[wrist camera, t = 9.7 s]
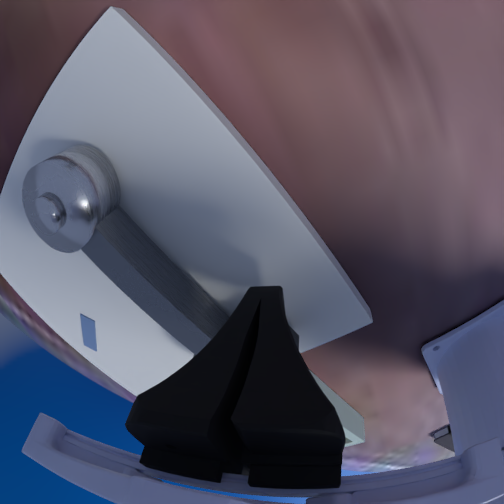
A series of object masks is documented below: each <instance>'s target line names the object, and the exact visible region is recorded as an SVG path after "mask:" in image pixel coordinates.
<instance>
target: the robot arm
mask: <svg viewBox="0 0 504 504" xmlns="http://www.w3.org/2000/svg"><path fill="white" fill-rule="evenodd" d="M421 351H422V354H423V357H424V359H425V361H426V363H427V365H428V367H429V369H430V372H431V374H432V376H433V378H434V381H435V383H436V385H437V388H438V390H439V392H440V394H443V397H444V401H445V405H446V410H447V414H448V419H449V424H450V428H451V434H452V439H453V445H454V450H455V457H451V458H448V459H444V460H440V461H437V462H433V463H428V464H424V465H420V466H415V467H410V468H405V469H399V470H393V471H387V472H380V473H373V474H364V475H355V476H342V477H341V465H342V452H343V449H344V446H345V443H346V438H345V432H344V429H343V426H342V423H341V421H340V419H339V416H338V414H337V412H336V409H335V407H334V406H333V404H332V403H331V402H330V401H329V399H328V398H327V397H326V395H325V394H324V393H323V391H322V390H321V388H320V387H319V385H318V384H317V382H316V381H315V379H314V377H313V376H312V374H311V372H310V371H309V369H308V367H307V366H306V364H305V362H304V360H303V358H302V356H301V354H300V352H299V350H298V348H297V345H296V343H295V341H294V338H293V336H292V333H291V330H290V327H289V325H288V321H287V318H286V313H285V304H284V295H283V288H282V287H281V286H254V287H250V288H249V289H248V290H247V292H246V293H245V295H244V297H243V298H242V300H241V301H240V303H239V304H238V306H237V307H236V309H235V310H234V312H233V313H232V314H231V316H230V317H229V318H228V320H227V321H226V323H225V324H224V325H223V326H222V327H221V329H220V330H219V331H218V332H217V334H216V335H215V336H214V337H213V338H212V339H211V340H210V342H209V343H208V344H207V345H206V346H205V347H204V348H203V349H202V350H201V351H200V352H199V353H198V354H197V355H195V356H194V357H193V358H192V359H191V360H190V361H189V362H188V363H186V364H185V365H184V366H183V367H181V368H180V369H179V370H178V371H176V372H175V373H173V374H172V375H171V376H169V377H168V378H166V379H165V380H163V381H162V382H160V383H159V384H157V385H155V386H153V387H152V388H150V389H148V390H146V391H145V392H143V393H141V394H139V395H138V396H137V398H136V400H135V402H134V403H133V406H132V408H131V411H130V413H129V416H128V418H127V421H126V423H125V426H126V428H127V430H128V431H129V432H130V433H131V434H132V435H133V436H134V437H135V438H136V439H137V440H139V441H140V442H141V443H142V444H143V445H144V446H145V447H144V449H143V452H142V455H137V454H134V453H130V452H127V451H124V450H121V449H117V448H114V447H112V446H109V445H106V444H103V443H100V442H98V441H95V440H92V439H90V438H87V437H85V436H82V435H80V434H77V433H75V432H72V431H70V430H68V429H67V428H66V427H65V426H64V425H63V424H61V423H60V422H59V421H57V420H55V419H54V418H51V417H49V416H47V415H45V414H43V413H40V414H39V416H38V418H37V420H36V422H35V424H34V426H33V428H32V430H31V432H30V434H29V436H28V438H27V440H26V442H25V445H24V446H23V449H22V452H23V453H24V454H26V455H27V456H29V457H30V458H32V459H33V460H35V461H36V462H38V463H39V464H41V465H43V466H44V467H46V468H47V469H49V470H51V471H52V472H54V473H56V474H58V475H59V476H61V477H63V478H65V479H66V480H68V481H70V482H72V483H74V484H76V485H78V486H80V487H82V488H84V489H86V490H88V491H90V492H92V493H94V494H96V495H98V496H101V497H103V498H105V499H107V500H110V501H112V502H114V503H117V504H292V503H278V502H268V501H259V500H250V499H244V498H237V497H231V496H226V495H220V494H214V493H209V492H203V491H198V490H193V489H188V488H184V487H180V486H175V485H171V484H167V483H164V482H162V480H160V479H164V480H168V481H172V482H176V483H180V484H185V485H190V486H194V487H200V488H205V489H211V490H217V491H223V492H231V493H239V494H248V495H260V496H274V497H311V498H308V499H306V504H504V300H503V301H501V302H499V303H498V304H496V305H495V306H493V307H492V308H490V309H488V310H487V311H485V312H484V313H482V314H480V315H479V316H477V317H475V318H473V319H472V320H470V321H468V322H466V323H465V324H463V325H461V326H459V327H458V328H456V329H454V330H452V331H450V332H448V333H446V334H445V335H443V336H441V337H439V338H437V339H435V340H433V341H431V342H429V343H427V344H425V345H424V346H423V347H422V349H421ZM152 476H153V477H152ZM154 477H156V478H154ZM157 478H160V479H157Z"/></svg>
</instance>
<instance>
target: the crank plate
mask: <svg viewBox="0 0 504 504" xmlns="http://www.w3.org/2000/svg"><path fill="white" fill-rule="evenodd" d="M76 145H87V146H90V147H93V148H95V149H97V150H98V151H100V152H101V153H102V154H103V155H104V156H105V157H106V158H107V159H108V160H109V161H110V163H111V164H112V166H113V168H114V170H115V172H116V174H117V177H118V180H119V184H120V190H121V198H120V205H119V206H120V207H121V208H122V209H123V210H124V211H125V212H126V213H127V214H128V215H129V217H130V218H131V219H132V220H133V221H134V222H135V223H136V224H137V225H138V226H139V227H140V228H141V229H142V230H143V232H144V233H145V234H146V235H147V236H148V237H149V238H150V239H151V240H152V241H153V242H154V243H155V244H156V245H157V246H158V247H159V248H160V249H161V250H162V251H163V252H164V253H165V254H166V255H167V256H168V258H169V259H170V260H171V261H172V262H173V263H174V264H175V265H176V266H177V267H178V268H179V269H180V270H181V271H182V272H183V273H184V274H185V275H186V276H187V277H188V278H189V279H190V280H191V281H192V282H193V283H195V284H196V285H197V286H198V287H199V288H200V289H201V290H202V291H203V292H204V293H205V294H206V295H207V296H208V297H209V298H210V299H211V300H212V301H213V302H214V303H215V304H216V305H217V306H218V307H219V308H220V309H222V310H223V311H224V312H225V313H226V314H227V315H228V316H229V317H230V316H231V314H232V313H233V312H234V310H235V309H236V307H237V306H238V304H239V303H240V301H241V300H242V298H243V297H244V295H245V293H246V292H247V290H248V289H249V288H250V287H254V286H281V287H282V288H283V295H284V304H285V313H286V318H287V321H288V325H289V326H290V327H291V328H292V329H293V330H294V331H295V332H296V333H297V334H298V335H299V352H300V353H302V352H304V351H307V350H310V349H312V348H315V347H317V346H320V345H322V344H325V343H327V342H329V341H332V340H334V339H337V338H339V337H341V336H344V335H346V334H348V333H351V332H353V331H355V330H357V329H360V328H362V327H364V326H366V325H368V324H371V323H373V319H372V315H371V310H370V308H369V306H368V305H367V303H366V302H365V300H364V299H363V297H362V296H361V294H360V293H359V291H358V290H357V288H356V287H355V285H354V284H353V283H352V281H351V280H350V278H349V277H348V275H347V274H346V272H345V271H344V269H343V268H342V267H341V265H340V264H339V262H338V261H337V259H336V258H335V257H334V255H333V254H332V252H331V251H330V250H329V248H328V247H327V245H326V244H325V243H324V241H323V240H322V238H321V237H320V236H319V234H318V233H317V232H316V230H315V229H314V227H313V226H312V225H311V223H310V222H309V221H308V219H307V218H306V217H305V215H304V214H303V213H302V211H301V210H300V209H299V207H298V206H297V205H296V203H295V202H294V201H293V199H292V198H291V197H290V195H289V194H288V193H287V192H286V190H285V189H284V188H283V186H282V185H281V184H280V183H279V181H278V180H277V179H276V177H275V176H274V175H273V174H272V172H271V171H270V170H269V169H268V167H267V166H266V165H265V164H264V162H263V161H262V160H261V159H260V157H259V156H258V155H257V154H256V153H255V151H254V150H253V149H252V148H251V146H250V145H249V144H248V143H247V142H246V140H245V139H244V138H243V137H242V136H241V134H240V133H239V132H238V131H237V130H236V128H235V127H234V126H233V125H232V124H231V123H230V121H229V120H228V119H227V118H226V117H225V116H224V114H223V113H222V112H221V111H220V110H219V109H218V108H217V106H216V105H215V104H214V103H213V102H212V101H211V100H210V98H209V97H208V96H207V95H206V94H205V93H204V92H203V91H202V90H201V88H200V87H199V86H198V85H197V84H196V83H195V82H194V81H193V80H192V79H191V77H190V76H189V75H188V74H187V73H186V72H185V71H184V70H183V69H182V68H181V67H180V66H179V65H178V63H177V62H176V61H175V60H174V59H173V58H172V57H171V56H170V55H169V54H168V53H167V52H166V51H165V50H164V49H163V48H162V47H161V46H160V45H159V44H158V43H157V42H156V41H155V40H154V39H153V38H152V37H151V36H150V35H149V34H148V33H147V32H146V31H145V30H144V29H143V28H142V27H141V26H140V25H139V24H138V23H137V22H136V21H135V20H134V19H133V18H132V17H131V16H130V15H129V14H128V13H127V12H126V11H125V10H124V9H121V8H117V7H112V6H111V7H110V8H109V9H108V10H107V11H106V12H105V13H104V14H103V16H102V17H101V18H100V19H99V20H98V21H97V23H96V24H95V25H94V26H93V27H92V29H91V30H90V31H89V32H88V34H87V35H86V36H85V37H84V39H83V40H82V41H81V43H80V44H79V45H78V47H77V48H76V49H75V51H74V52H73V54H72V55H71V56H70V58H69V59H68V61H67V62H66V64H65V65H64V67H63V68H62V70H61V71H60V73H59V74H58V76H57V77H56V79H55V80H54V82H53V84H52V85H51V87H50V89H49V90H48V92H47V94H46V95H45V97H44V99H43V101H42V102H41V104H40V106H39V108H38V110H37V111H36V113H35V115H34V117H33V119H32V121H31V123H30V125H29V127H28V129H27V131H26V133H25V135H24V137H23V140H22V142H21V144H20V146H19V148H18V151H17V153H16V155H15V158H14V160H13V163H12V165H11V168H10V170H9V173H8V175H7V178H6V181H5V184H4V186H3V189H2V192H1V195H0V273H1V274H2V276H3V277H4V278H5V279H6V280H7V282H8V283H9V284H10V285H11V286H12V287H13V288H14V290H15V291H16V292H17V293H18V294H19V295H20V296H21V297H22V298H23V300H24V301H25V302H26V303H27V304H28V305H29V306H30V307H31V308H32V309H33V310H34V311H35V312H36V313H37V314H38V315H39V316H40V317H41V318H42V319H43V320H44V321H45V322H46V323H47V324H48V325H49V326H50V327H51V328H52V329H53V330H54V331H55V332H56V333H58V334H59V335H60V336H61V337H62V338H63V339H64V340H65V341H66V342H67V343H69V344H70V345H71V346H72V347H73V348H74V349H75V350H77V351H78V352H79V353H80V354H81V355H83V356H84V357H85V358H86V359H87V360H89V361H90V362H91V363H92V364H94V365H95V366H96V367H97V368H99V369H100V370H101V371H102V372H104V373H105V374H106V375H108V376H109V377H110V378H112V379H113V380H114V381H116V382H117V383H118V384H120V385H121V386H123V387H124V388H125V389H127V390H128V391H130V392H131V393H132V394H134V395H135V396H138V395H139V394H141V393H143V392H145V391H146V390H148V389H150V388H152V387H153V386H155V385H157V384H159V383H160V382H162V381H163V380H165V379H166V378H168V377H169V376H171V375H172V374H173V373H175V372H176V371H178V370H179V369H180V368H181V367H183V366H184V365H185V364H186V363H188V362H189V361H190V360H191V359H192V358H193V356H194V353H192V352H191V351H190V350H189V349H187V348H186V347H185V346H184V345H183V344H181V343H180V342H179V341H178V340H177V339H175V338H174V337H173V336H172V335H171V334H169V333H168V332H167V331H166V330H165V329H163V328H162V327H161V326H160V325H159V324H158V323H157V322H155V321H154V320H153V319H152V318H151V317H150V316H149V315H147V314H146V313H145V312H144V311H143V310H142V309H141V308H140V307H139V306H138V305H136V304H135V303H134V302H133V301H132V300H131V299H130V298H129V297H128V296H127V295H126V294H125V293H124V292H123V291H122V290H120V289H119V288H118V287H117V286H116V285H115V284H114V283H113V282H112V281H111V280H110V279H109V278H108V277H107V276H106V275H105V274H104V273H103V272H102V271H101V270H100V269H99V268H98V267H97V266H96V265H95V264H94V263H93V262H92V261H91V260H90V259H89V257H88V256H87V255H86V254H85V253H84V252H83V251H82V250H81V249H80V250H79V251H76V252H73V253H64V252H60V251H57V250H55V249H53V248H52V247H50V246H49V245H47V244H46V243H45V242H44V241H43V240H42V239H41V238H40V237H39V236H38V235H37V234H36V232H35V231H34V229H33V228H32V226H31V224H30V223H29V221H28V218H27V216H26V213H25V210H24V206H23V201H22V186H23V181H24V178H25V176H26V174H27V172H28V171H29V170H30V169H31V168H32V167H33V166H35V165H36V164H38V163H40V162H42V161H44V160H46V159H48V158H50V157H52V156H54V155H56V154H58V153H60V152H62V151H64V150H66V149H68V148H70V147H73V146H76Z"/></svg>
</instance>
